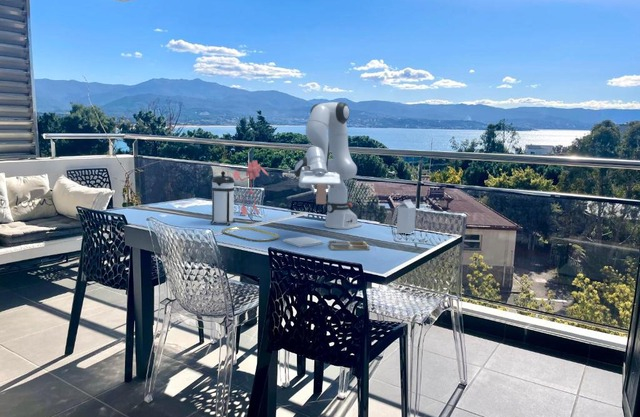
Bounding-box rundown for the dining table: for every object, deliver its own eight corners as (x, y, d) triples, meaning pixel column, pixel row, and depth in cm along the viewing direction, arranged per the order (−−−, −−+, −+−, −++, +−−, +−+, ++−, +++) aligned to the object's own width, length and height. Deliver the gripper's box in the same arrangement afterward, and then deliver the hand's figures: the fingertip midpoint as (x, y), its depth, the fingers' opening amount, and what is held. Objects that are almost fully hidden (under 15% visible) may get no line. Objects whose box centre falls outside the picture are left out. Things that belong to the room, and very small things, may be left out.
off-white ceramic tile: (305, 238, 252) (305, 236, 252) (323, 243, 241) (323, 241, 241) (283, 241, 243) (283, 239, 243) (300, 247, 232) (300, 245, 232)
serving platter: (258, 244, 237) (258, 241, 237) (215, 232, 260) (215, 229, 260) (286, 239, 251) (286, 236, 250) (243, 228, 274) (243, 225, 274)
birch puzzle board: (328, 245, 238) (328, 238, 237) (364, 245, 241) (364, 238, 240) (331, 250, 229) (331, 243, 228) (369, 250, 232) (369, 242, 231)
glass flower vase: (229, 215, 308) (230, 159, 302) (259, 211, 327) (261, 159, 321) (245, 219, 298) (247, 162, 292) (276, 215, 318) (278, 161, 312)
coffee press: (242, 224, 281) (242, 172, 277) (215, 226, 272) (215, 172, 268) (229, 219, 295) (229, 169, 291) (203, 221, 286) (203, 170, 282)
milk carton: (414, 233, 274) (416, 200, 271) (407, 235, 269) (409, 201, 266) (403, 231, 279) (405, 198, 276) (396, 233, 273) (398, 199, 270)
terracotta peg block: (316, 203, 234) (316, 184, 233) (324, 203, 235) (324, 184, 234) (317, 204, 230) (318, 184, 229) (325, 204, 231) (326, 185, 230)
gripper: (337, 177, 245) (341, 198, 236) (297, 176, 241) (299, 197, 232) (340, 168, 240) (344, 189, 231) (298, 167, 236) (300, 188, 227)
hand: (321, 193), depth 231 cm, fingers closed on terracotta peg block, 4 cm apart
